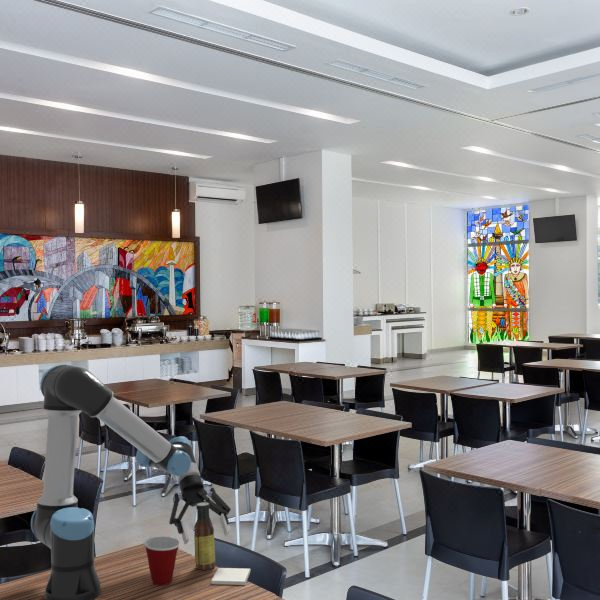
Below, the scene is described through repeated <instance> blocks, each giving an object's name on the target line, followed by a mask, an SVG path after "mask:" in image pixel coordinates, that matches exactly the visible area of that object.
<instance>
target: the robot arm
mask: <svg viewBox="0 0 600 600" xmlns="http://www.w3.org/2000/svg"><path fill="white" fill-rule="evenodd" d="M39 386H40V391H41V394H42V396H43V397H44V399H43V411H44V412H45V413H46V414H47V416H48V417H47V430H46V444H45V446H46V448H45V458H44V459H45V460H44V463H45V464H44V473H43V476H44V477H43V492H42V495H41V496H40V497H39V498H38V499H37V502H36V509H35V510H34V511H33V512H32V513H33V514H32V515H31V519H30V527H31V528H30V529H31V531H32V533H33V535H34V537H35V538H36V540H37V541H39V542H40V543H42V544H43V545H45V546H46V547H47V548H49V549H50V555H51V556H50V559H51V560H50V561H51V562H50V563H51V565H50V567H51V569H50V570H51V571H50V573H49V577H48V580H47V583H46V585H45V586H46V587H45V589H44V600H94V599H96V598H97V597H98V596H99V595H100V594H101V581H100V578H99V576H98V573H97V570H96V567H95V566H96V565H95V521H94V516H93V513H92V512H91V511H90V510H89V509H86V508H83V507H81V508H80V507H78V501H79V500H78V498H77V497H76V496H75V495H74V482H75V467H76V466H75V464H76V450H77V449H76V448H77V435H78V434H77V433H78V421H79V419H78V417H79V415H80V414H81V413H82V412H83V413H85V414H86V415H87V416H89V417H90V418H97V419H98V420H100V421H101V422H102V423H104V424H105V425H106V426H108V427H109V428H110V429H111V430H113V432H114V433H117V434H118V435H119V436H120V437H122V438H123V440H126V441H127V442H128V443H130V445H132V446H133V447H135V448H136V450H137V451H136V457H135V459H136V463H137V464H138V466H139V467H141V468H154V469H157V470H160V471H163V472H165V473H168V474H170V475H171V476H175V477H176V479H177V483H178V486H179V491H180V494H179V493H178V492H176V493H174V495H173V498H172V501H173V505H172V508H171V513H170V517H169V521H168V523H169V525H174V527H176V530H177V533H178V535H181V536H182V541H183V544H184V545H187V544H188V542H189V540H190V539H189V534H188V531H187V528H186V525H185V521H184V520H182V519H183V517H184V515H185V514H186V512H187V510H188V508H189V506H190V507H196V505H197V504H198V503H203V502H207V503H209V510H211V511H212V512H214V514H216V515H218V516H219V518H218V519H219V522H220V525H221V528H222V531H223V535H224V537H228V535H229V534H230V529H229V526H228V525H229V519H228V516H229V514H230V512H231V507H230V506H228V504H227V503H226V502H225V501H224V500H223V499H222V498H221V496H219V494H217V493H216V490H215V488H214V487H210V489H207V490H206V489H205V487H204V484H203V480H202V477H201V473H200V471H199V466H198V464H197V461H196V458H195V454H194V451H193V447H192V446H191V445H192V444H191V443H190V441H189V438H187V437H186V436H178V437H173V438H171V439H170V440H167V439H166V438H165V437H164V436H163V435H161V434H160V433H158V432H157V431H156V430H155V429H154V428H153V427H151V426H150V425H149V424H147V423H146V422H145V421H144V420H143V419H141V417H139V416H138V415H136V414H135V413H134V412H133V411H132V410H131V409H129V408H128V407H127V406H126V405H124V404H123V403H122V402H121V401H119V400H118V399H117V398H116V397H114V392H113V391H112V390H111V389H110V388H109V387H108V386H107V385H106V384H105V383H103V382H102V381H101V379H99V378H97V376H95V375H94V374H93V373H92V372H91V371H90V370H88V369H86V368H84V367H80V366H74V365H71V364H57V365H54V366H52V367H50V368H49V369H48V370H47V371H45V372H44V374H43V375H42V377H41V380H40V385H39ZM181 500H182V501H183V502H185V503H184V505H183V507H182V509H181V511H180V512H179V514H178V516H177V510H178V506H179V503H180V501H181ZM176 516H177V517H176Z"/></svg>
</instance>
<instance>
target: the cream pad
mask: <svg viewBox="0 0 600 600" xmlns="http://www.w3.org/2000/svg"><path fill="white" fill-rule="evenodd" d="M250 573H251V568H238V567H235V568H233V567H218V568H217V570H216V572H215V574H214V575H213V577H212V579H211V581H210V582H211V585H229V586H230V585H232V586H233V585H235V586H236V585H237V586H239V585H240V586H246V584H247V581H248V579H249V576H250Z"/></svg>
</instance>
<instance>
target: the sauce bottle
mask: <svg viewBox="0 0 600 600" xmlns="http://www.w3.org/2000/svg"><path fill="white" fill-rule="evenodd" d="M195 508H196V510H197V511H196V512H197V516H196V517H197V519H196V522H195V523H194V528H193V532H194V535H193V538H194V540H193V541H194V559H195V560H194V561H195V568H196V569H197V570H200V571H207V570H212V569H214V568H215V566H216V545H215V528H214V526H213V523H212V520H211V517H210V509H209V503H207V502H203V503H198V504H197V505H196V506H195Z"/></svg>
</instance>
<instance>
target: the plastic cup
mask: <svg viewBox="0 0 600 600" xmlns="http://www.w3.org/2000/svg"><path fill="white" fill-rule="evenodd" d="M143 545H144V547H145V551H146V556H147V561H148V569H149V573H150V579H151V581H152V584H154V585H155V586H164V585H169V584H171V582H173V581H172V580H173V579H174V577H173V576H174V572H175V571H174V570H175V567H176V559H177V553H178V550H179V547H180V545H181V540H179V539H177V538H176V537H172V536H163V535H162V536H161V535H160V536H154V537H149V538H148V539H145V541H144V542H143Z"/></svg>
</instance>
